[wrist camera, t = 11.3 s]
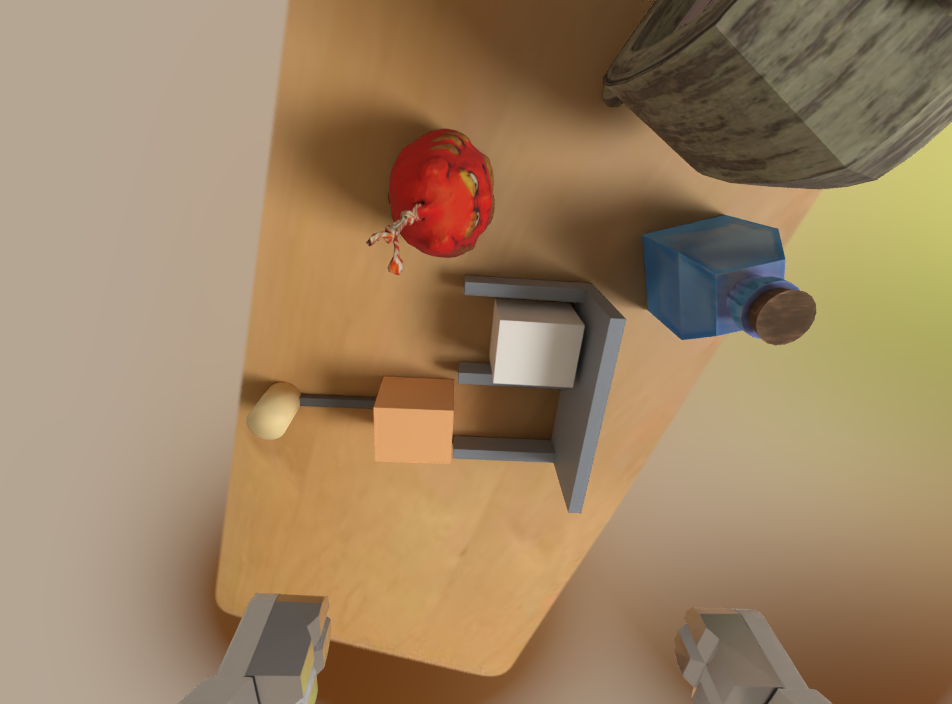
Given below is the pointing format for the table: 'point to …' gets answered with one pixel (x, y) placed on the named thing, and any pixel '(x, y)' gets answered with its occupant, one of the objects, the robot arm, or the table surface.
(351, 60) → the table surface
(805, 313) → the perfume bottle
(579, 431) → the lane rack
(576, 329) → the white block
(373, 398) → the tan block and knob
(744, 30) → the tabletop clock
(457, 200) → the red clay folk toy
